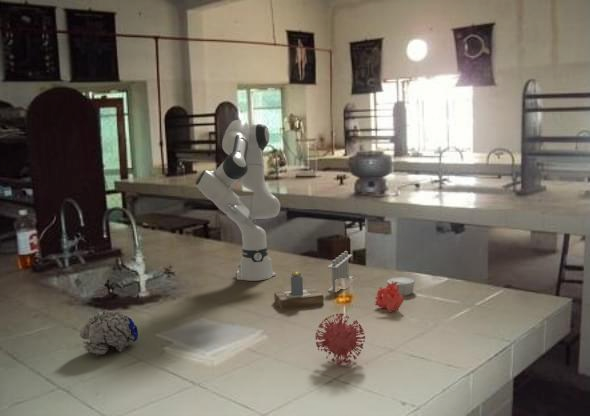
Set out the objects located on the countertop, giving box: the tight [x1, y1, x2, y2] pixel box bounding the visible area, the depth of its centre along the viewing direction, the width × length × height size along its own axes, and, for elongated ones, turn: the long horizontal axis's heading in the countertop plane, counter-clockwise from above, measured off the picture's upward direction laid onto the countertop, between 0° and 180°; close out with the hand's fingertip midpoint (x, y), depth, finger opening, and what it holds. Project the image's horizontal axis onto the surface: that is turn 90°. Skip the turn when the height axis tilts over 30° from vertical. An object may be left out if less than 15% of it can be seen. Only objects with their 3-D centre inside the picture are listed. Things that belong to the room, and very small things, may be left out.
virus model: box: [314, 313, 366, 365], centre depth 188 cm, size 15×15×15 cm
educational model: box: [79, 309, 139, 356], centre depth 208 cm, size 14×20×15 cm
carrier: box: [289, 273, 304, 296], centre depth 250 cm, size 6×4×8 cm
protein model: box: [374, 282, 404, 314], centre depth 238 cm, size 9×12×12 cm
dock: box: [273, 287, 325, 311], centre depth 251 cm, size 12×17×4 cm
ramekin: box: [386, 276, 415, 297], centre depth 260 cm, size 11×11×5 cm
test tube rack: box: [326, 250, 354, 293], centre depth 276 cm, size 25×4×13 cm, turn 159°
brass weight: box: [292, 271, 300, 277], centre depth 250 cm, size 3×3×2 cm
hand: (255, 225), depth 254 cm, fingers open, 8 cm apart
